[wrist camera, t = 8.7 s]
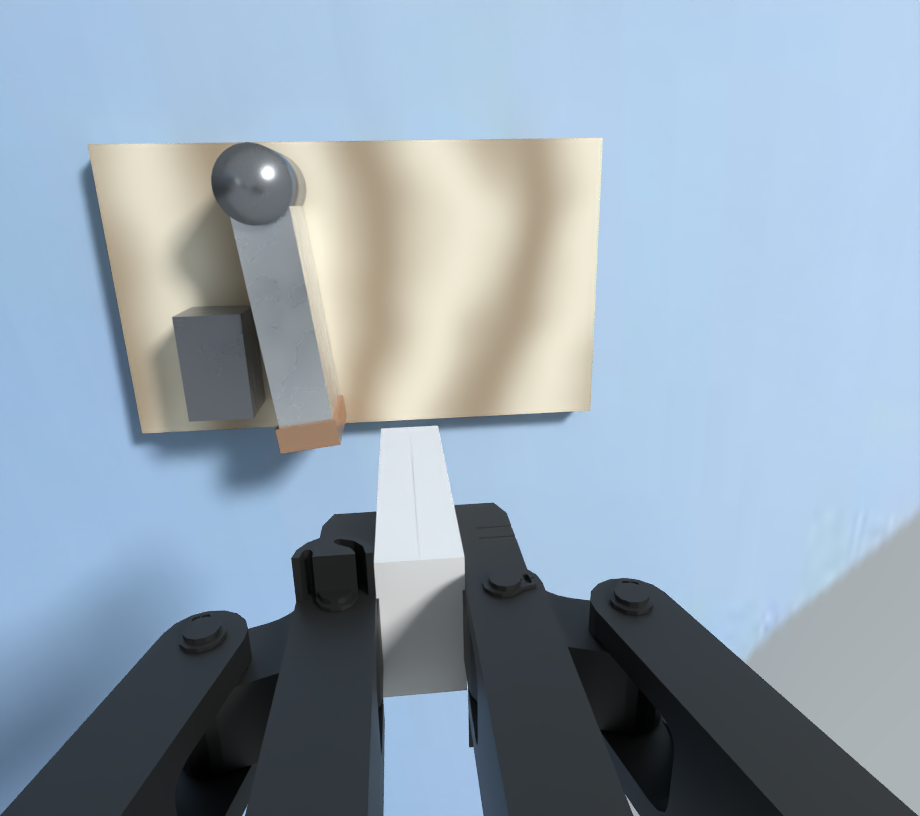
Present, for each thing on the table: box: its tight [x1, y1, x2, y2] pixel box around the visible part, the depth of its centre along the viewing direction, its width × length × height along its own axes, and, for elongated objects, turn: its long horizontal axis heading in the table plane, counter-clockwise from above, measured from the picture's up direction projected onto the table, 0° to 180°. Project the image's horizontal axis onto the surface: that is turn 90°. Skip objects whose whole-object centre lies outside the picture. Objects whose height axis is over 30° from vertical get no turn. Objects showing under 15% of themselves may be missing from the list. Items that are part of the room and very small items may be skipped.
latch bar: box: [211, 142, 347, 454], centre depth 29 cm, size 13×3×4 cm, turn 7°
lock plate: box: [88, 138, 603, 434], centre depth 32 cm, size 24×14×2 cm, turn 91°
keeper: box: [172, 305, 266, 422], centre depth 31 cm, size 3×5×3 cm, turn 1°
